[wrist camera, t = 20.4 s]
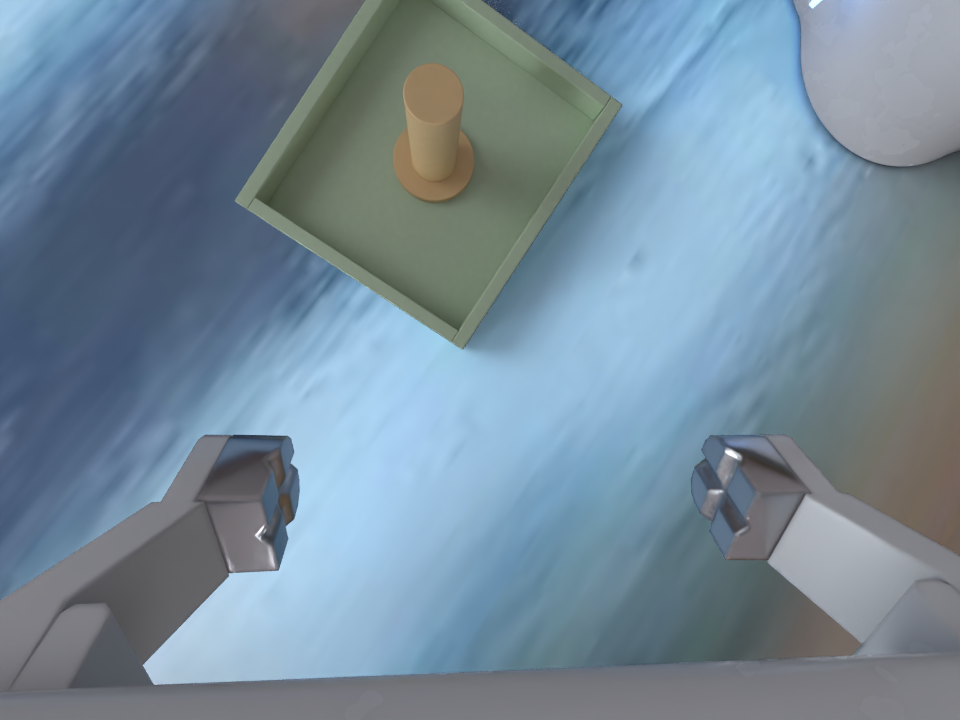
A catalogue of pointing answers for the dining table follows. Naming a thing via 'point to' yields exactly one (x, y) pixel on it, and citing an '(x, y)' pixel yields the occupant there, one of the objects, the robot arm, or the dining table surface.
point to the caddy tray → (369, 119)
